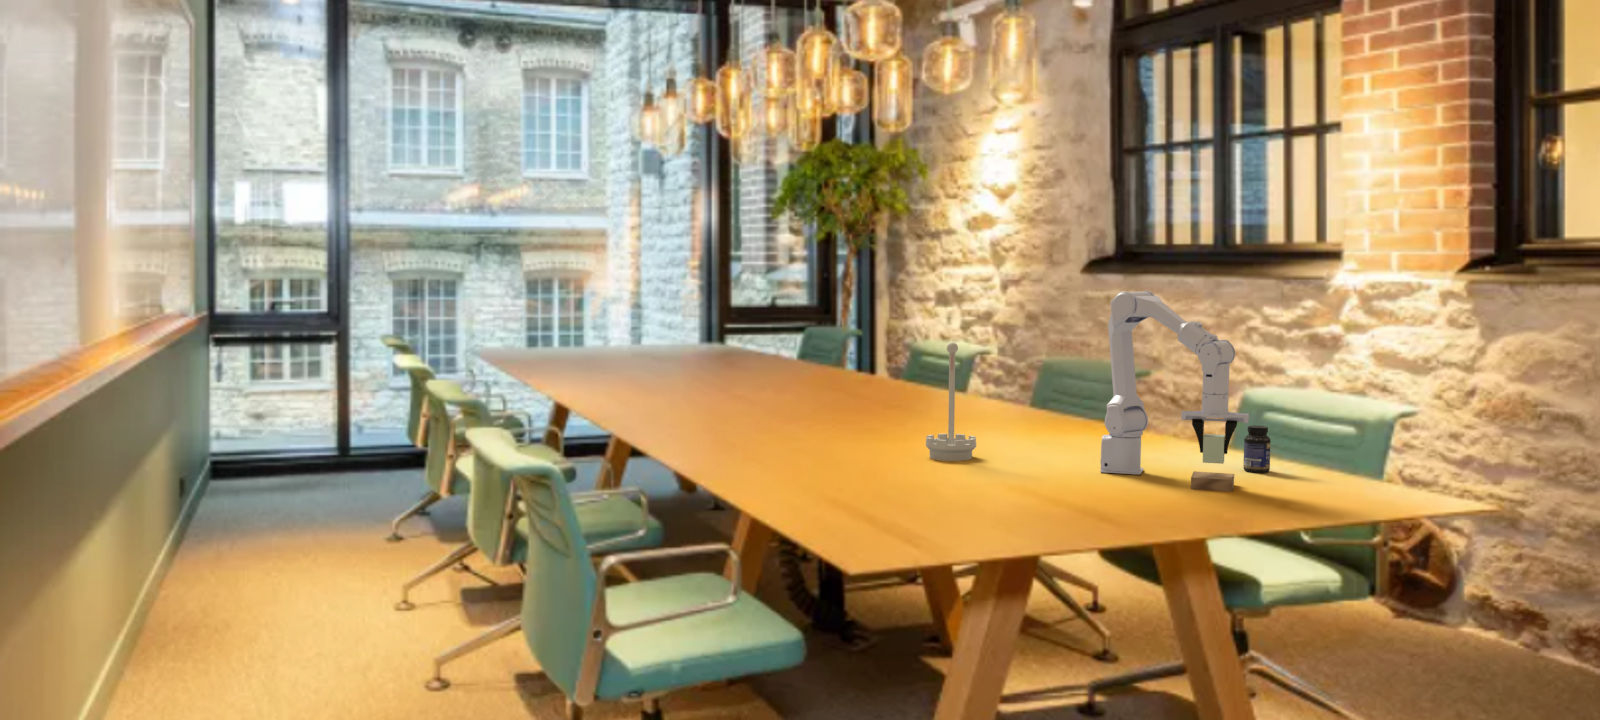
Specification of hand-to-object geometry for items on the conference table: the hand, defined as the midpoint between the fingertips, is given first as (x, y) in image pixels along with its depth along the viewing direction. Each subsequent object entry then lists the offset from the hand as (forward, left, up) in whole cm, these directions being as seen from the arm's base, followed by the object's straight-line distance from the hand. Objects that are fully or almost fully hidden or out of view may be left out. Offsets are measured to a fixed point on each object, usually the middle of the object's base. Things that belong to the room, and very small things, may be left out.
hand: (1213, 452), depth 297 cm
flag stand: (-66, +19, -8) cm, 69 cm away
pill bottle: (+9, +26, -8) cm, 29 cm away
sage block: (0, 0, -2) cm, 2 cm away
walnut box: (0, 0, -8) cm, 8 cm away
